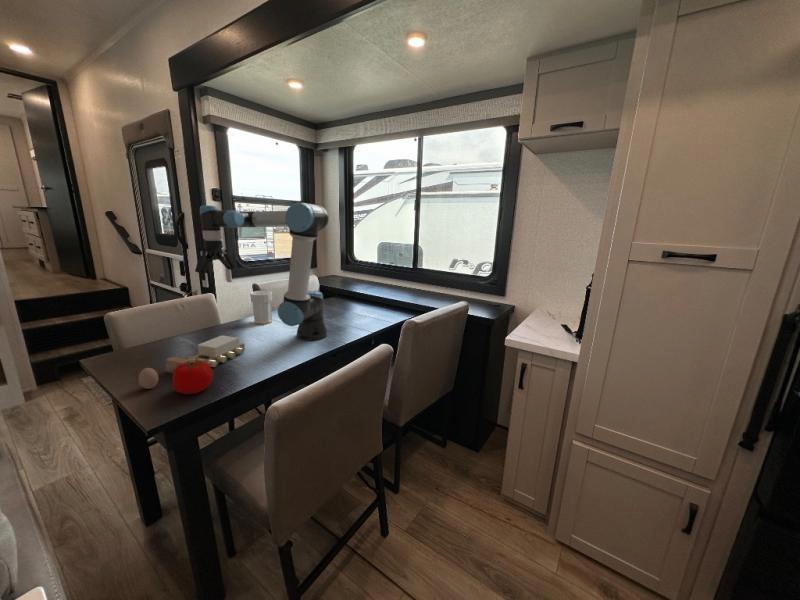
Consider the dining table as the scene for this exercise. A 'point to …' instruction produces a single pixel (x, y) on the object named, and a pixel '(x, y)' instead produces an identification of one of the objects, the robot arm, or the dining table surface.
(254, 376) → the dining table surface
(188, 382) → the tomato
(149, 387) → the egg
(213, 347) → the paver
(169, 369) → the rack with metal cylinders
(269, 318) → the cup
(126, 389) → the dining table surface
